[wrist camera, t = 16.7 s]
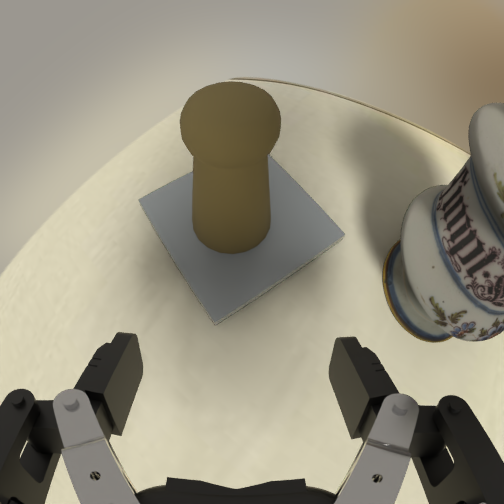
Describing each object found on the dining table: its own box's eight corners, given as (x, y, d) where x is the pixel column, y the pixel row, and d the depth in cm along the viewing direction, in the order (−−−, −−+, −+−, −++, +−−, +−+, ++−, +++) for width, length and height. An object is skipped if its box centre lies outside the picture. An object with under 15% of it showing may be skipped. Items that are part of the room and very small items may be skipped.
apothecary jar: (459, 231, 25) (564, 109, 8) (483, 346, 19) (640, 261, 3) (360, 220, 24) (461, 32, 8) (376, 363, 19) (614, 251, 3)
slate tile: (255, 148, 27) (255, 142, 26) (342, 239, 23) (345, 234, 22) (140, 205, 24) (138, 199, 23) (215, 325, 19) (214, 322, 19)
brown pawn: (177, 213, 22) (147, 95, 13) (238, 176, 24) (241, 59, 14) (223, 270, 20) (214, 155, 11) (287, 224, 22) (319, 105, 13)
